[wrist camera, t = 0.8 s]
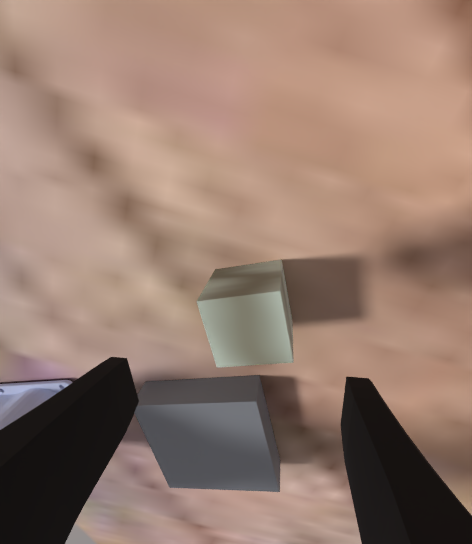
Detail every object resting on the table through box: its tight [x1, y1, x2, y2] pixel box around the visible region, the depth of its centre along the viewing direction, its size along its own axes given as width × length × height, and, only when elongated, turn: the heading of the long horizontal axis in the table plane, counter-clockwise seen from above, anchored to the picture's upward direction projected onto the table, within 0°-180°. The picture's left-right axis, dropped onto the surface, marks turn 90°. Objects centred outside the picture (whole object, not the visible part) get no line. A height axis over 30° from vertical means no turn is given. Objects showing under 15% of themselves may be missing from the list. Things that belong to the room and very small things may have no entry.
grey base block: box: [134, 375, 280, 492], centre depth 24 cm, size 10×10×3 cm
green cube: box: [197, 260, 293, 367], centre depth 18 cm, size 4×4×4 cm
